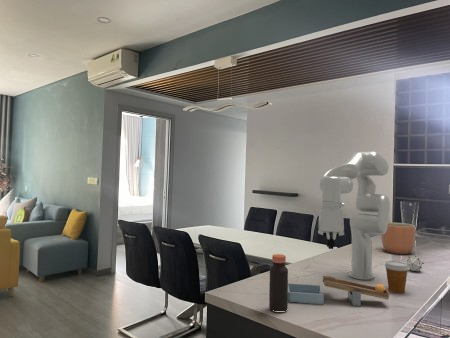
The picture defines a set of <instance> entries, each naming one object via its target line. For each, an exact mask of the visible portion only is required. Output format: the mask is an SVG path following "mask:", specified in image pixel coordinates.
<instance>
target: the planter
mask: <svg viewBox="0 0 450 338" xmlns="http://www.w3.org/2000/svg"><path fill="white" fill-rule="evenodd" d="M415 240H416V225H414V224H413V223H412V224H410V223H404V222H391V221H390V222H389V221H388V227H387V231H386V233H385V234H383V235H381V243H382V247H383V249H384V250H386V252H388V253H390V254H393V255H394V254H395V255H408V254H410V253H411V252H412V251H413V250H414V247H415V242H416V241H415Z"/></svg>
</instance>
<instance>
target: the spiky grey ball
mask: <svg viewBox="0 0 450 338" xmlns="http://www.w3.org/2000/svg"><path fill="white" fill-rule="evenodd" d="M406 264H407V265H408V267H409V271H412V272H421V269H423V267H422V266H423V265H424V264H425V262H422V261H421V259H420V258H419V257H417V256H416V255H415V256H414V257H413V256H412V257H410V256H408V259H407V260H406Z"/></svg>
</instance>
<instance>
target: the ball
mask: <svg viewBox="0 0 450 338" xmlns="http://www.w3.org/2000/svg"><path fill="white" fill-rule="evenodd" d="M374 287H375V290H376V291H377V292H381V293H384V292H385V288H386V287H385V286H384V284H381V283H379V284H378V283H377V284H376V285H375V286H374Z"/></svg>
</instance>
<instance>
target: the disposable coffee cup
mask: <svg viewBox="0 0 450 338" xmlns="http://www.w3.org/2000/svg"><path fill="white" fill-rule="evenodd" d="M384 267H385V272H386V280H387V288H388V291H390V292H391V293H395V294H403V293H405V289H406V282H407V277H408V270H410V268H409V267H408V265H407V262H401V261H396V260H394V261H393V260H392V261H391V260H390V261H385V264H384Z"/></svg>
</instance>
